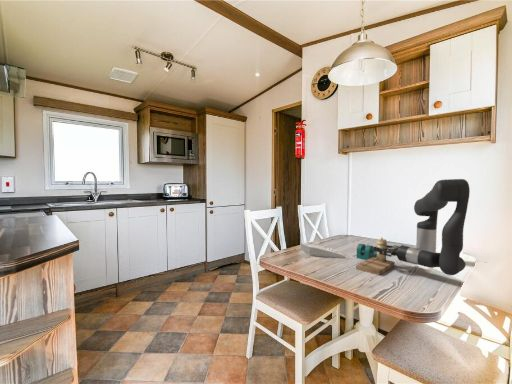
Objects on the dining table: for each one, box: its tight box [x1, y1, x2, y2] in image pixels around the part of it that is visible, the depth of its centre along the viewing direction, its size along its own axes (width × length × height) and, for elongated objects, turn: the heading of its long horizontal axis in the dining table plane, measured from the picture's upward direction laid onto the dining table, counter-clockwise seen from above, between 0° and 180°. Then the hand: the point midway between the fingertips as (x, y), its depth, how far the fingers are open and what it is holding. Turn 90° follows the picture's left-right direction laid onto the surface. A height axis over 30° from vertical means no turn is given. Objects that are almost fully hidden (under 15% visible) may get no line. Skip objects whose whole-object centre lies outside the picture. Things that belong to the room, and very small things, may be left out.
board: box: [355, 257, 395, 276], centre depth 128 cm, size 20×11×2 cm, turn 133°
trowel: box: [300, 241, 345, 259], centre depth 152 cm, size 28×16×5 cm, turn 55°
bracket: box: [356, 243, 377, 261], centre depth 147 cm, size 18×7×8 cm, turn 131°
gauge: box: [376, 237, 388, 262], centre depth 132 cm, size 5×5×12 cm
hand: (378, 247), depth 134 cm, fingers open, 8 cm apart
